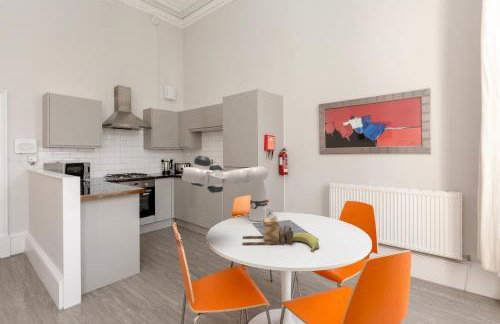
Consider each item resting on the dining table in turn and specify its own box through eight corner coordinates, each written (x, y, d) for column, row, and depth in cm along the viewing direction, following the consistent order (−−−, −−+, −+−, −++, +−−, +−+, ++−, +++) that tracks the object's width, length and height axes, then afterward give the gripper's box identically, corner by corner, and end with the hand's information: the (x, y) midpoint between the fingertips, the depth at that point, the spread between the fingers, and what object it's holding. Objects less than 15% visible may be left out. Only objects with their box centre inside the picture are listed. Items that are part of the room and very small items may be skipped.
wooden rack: (242, 245, 140) (242, 228, 140) (242, 238, 152) (242, 221, 152) (294, 245, 140) (294, 227, 140) (290, 237, 153) (290, 221, 152)
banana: (308, 226, 150) (322, 242, 130) (310, 235, 151) (324, 252, 131) (285, 233, 149) (296, 251, 129) (288, 242, 150) (298, 261, 130)
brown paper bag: (264, 243, 143) (264, 221, 142) (263, 238, 151) (263, 218, 150) (279, 243, 143) (279, 221, 142) (277, 238, 151) (277, 217, 150)
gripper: (212, 182, 160) (234, 186, 159) (203, 184, 140) (228, 188, 138) (214, 172, 160) (236, 175, 159) (205, 172, 140) (230, 176, 138)
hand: (232, 181), depth 148 cm, fingers closed
